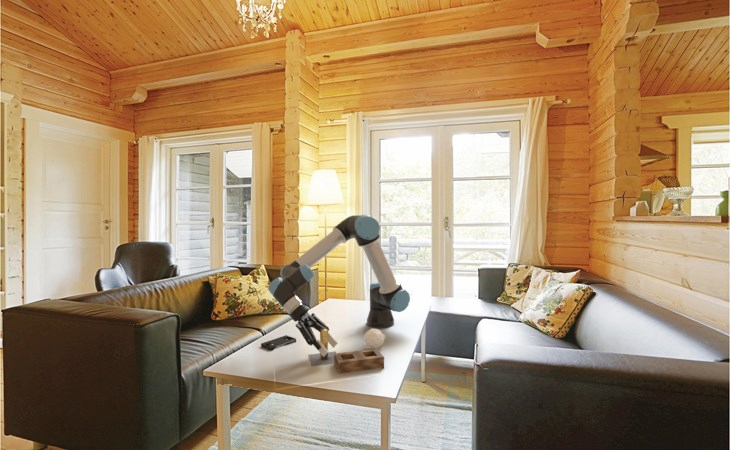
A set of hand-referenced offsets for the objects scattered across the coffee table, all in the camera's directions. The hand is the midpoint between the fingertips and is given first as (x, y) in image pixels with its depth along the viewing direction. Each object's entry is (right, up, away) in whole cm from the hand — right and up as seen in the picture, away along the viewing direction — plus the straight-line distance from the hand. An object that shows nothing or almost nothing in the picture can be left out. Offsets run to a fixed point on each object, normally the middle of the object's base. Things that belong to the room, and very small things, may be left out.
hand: (331, 349), depth 140 cm
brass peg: (-3, -4, +1) cm, 5 cm away
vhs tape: (-26, -5, +19) cm, 33 cm away
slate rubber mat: (-3, -4, +1) cm, 5 cm away
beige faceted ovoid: (+19, -4, +14) cm, 24 cm away
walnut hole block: (+12, -4, -6) cm, 14 cm away
